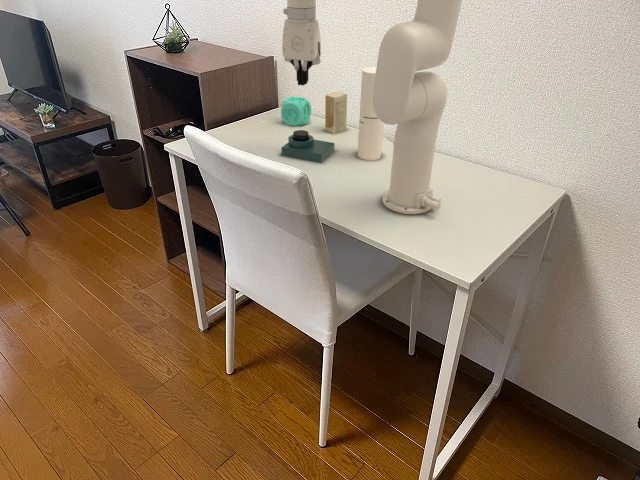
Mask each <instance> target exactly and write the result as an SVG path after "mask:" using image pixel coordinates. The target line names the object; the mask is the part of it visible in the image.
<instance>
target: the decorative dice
mask: <svg viewBox="0 0 640 480" xmlns="http://www.w3.org/2000/svg"><path fill="white" fill-rule="evenodd" d="M280 109H281V110H280V116H281V119H282V121H283V122H284V124H286V125H288V126H291V127H302V126H305V125H307V124H308V123H309V121H310V119H311V115H312V105H311V103H310V101H309V100H308V98H306V97H303V96H289V97H286V98H284V100H283V101H282V104H281V107H280Z"/></svg>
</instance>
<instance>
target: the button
mask: <svg viewBox="0 0 640 480" xmlns="http://www.w3.org/2000/svg"><path fill="white" fill-rule="evenodd" d="M292 135H293V140H295V141H306V140H309V135H310V134H309V131H308V130H304V129H298V130H294V131H293V132H292Z"/></svg>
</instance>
